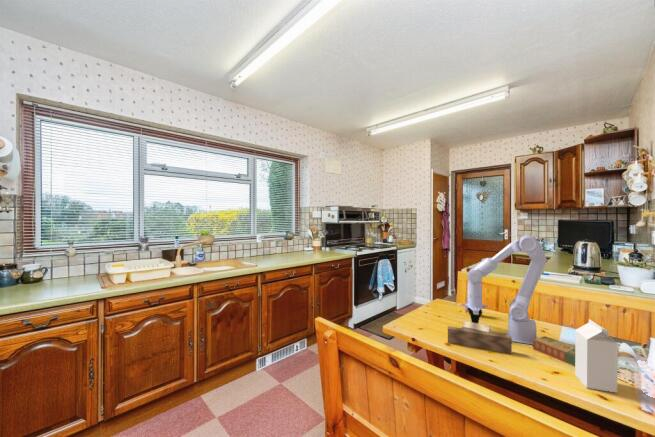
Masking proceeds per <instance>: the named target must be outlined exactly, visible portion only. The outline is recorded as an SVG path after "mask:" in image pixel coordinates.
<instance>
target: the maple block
mask: <svg viewBox="0 0 655 437" xmlns="http://www.w3.org/2000/svg"><path fill="white" fill-rule="evenodd" d="M461 328H463V329H470V330H476V331H483V332H489V333H492V331H491V328H492V327H491V325H487V324H481V323H473V322H472V321H467V320H464V321H463V324H462V325H461Z"/></svg>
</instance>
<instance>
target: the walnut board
mask: <svg viewBox="0 0 655 437" xmlns="http://www.w3.org/2000/svg"><path fill="white" fill-rule="evenodd" d="M512 342H513V341H512V338H511V336H509V335H506V334H502V333H496V332H495V333H494V332H491V333H489V332H483V331H476V330H470V329H463V328H462V327H457V326H456V327H454V326H448V325H447V344H451V345H457V346H464V347H470V348H473V349H474V348H475V349H479V350H480V349H481V350H485V351H486V350H487V351H491V352H497V353H503V354H508V355H512V353H513V352H512V350H513V349H512V348H513V347H512V346H513V344H512Z"/></svg>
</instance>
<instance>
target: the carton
mask: <svg viewBox="0 0 655 437" xmlns="http://www.w3.org/2000/svg"><path fill="white" fill-rule="evenodd" d="M532 348H533V350H534V351H535V352H536V351H537V352H539V353H541V354H543V355H546V356H548V357H551V358H552V359H556V360H558V361H560V362H563V363H565V364H568V365H569V366H572V367H575V345H571V344H568V343H566V342H562V341H559V340H557V339H555V338H552V337H548V336H545V335H544V336H541V337H538V338H537V339H535V340H533V345H532Z"/></svg>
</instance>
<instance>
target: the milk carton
mask: <svg viewBox="0 0 655 437" xmlns="http://www.w3.org/2000/svg"><path fill="white" fill-rule="evenodd" d="M574 332H575V334H574V337H575V338H574V339H575V341H574V342H575V345H574V347H575V368H574V375H575V376H576V378H577V379H578V380H579V381H580V382H581V383H582V384H583V386H584V387H585V388H586V389H591V390H596V391H597V390H598V391H603V392H608V391H609V392H610V393H614V392H615V393H616V394H617V393H618V368H619V367H618V366H619V365H618V362H619V360H618V356H619V355H618V349H619V347H618V346H619V345H618V342H617V341H616V340H614V339H613V338H612V337H610V336H609V335H610V334H611V332H610V331H609V330H607V329H606V328H605V327H602V326H600V325H599V324H598V323H596V322H595V321H593V320H591V319H590V318H589V319H588V322H587V323H585V324H583V325H582V326H580V327H578V328H576V329H575V330H574Z"/></svg>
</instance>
